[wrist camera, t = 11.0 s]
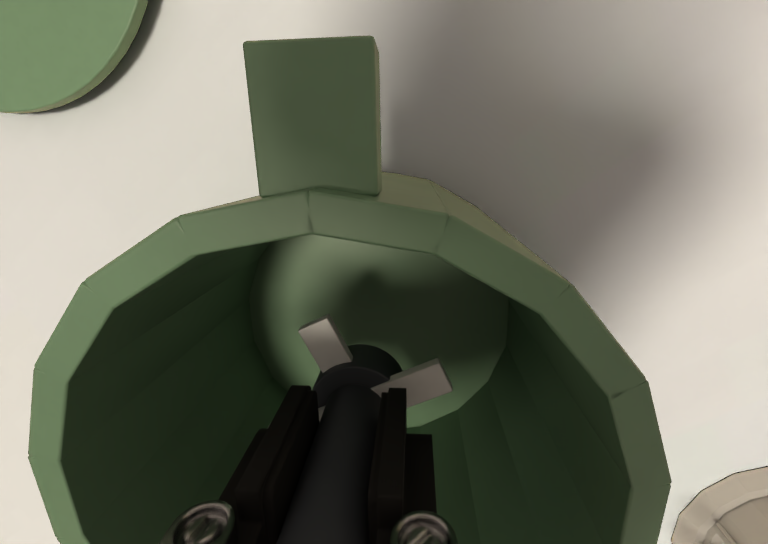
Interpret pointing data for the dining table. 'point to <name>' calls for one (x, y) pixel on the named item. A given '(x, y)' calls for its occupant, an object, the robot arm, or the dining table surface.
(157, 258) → the chamber
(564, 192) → the dining table surface
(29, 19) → the lid
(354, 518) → the blade
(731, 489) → the french press
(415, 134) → the dining table surface
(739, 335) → the dining table surface
